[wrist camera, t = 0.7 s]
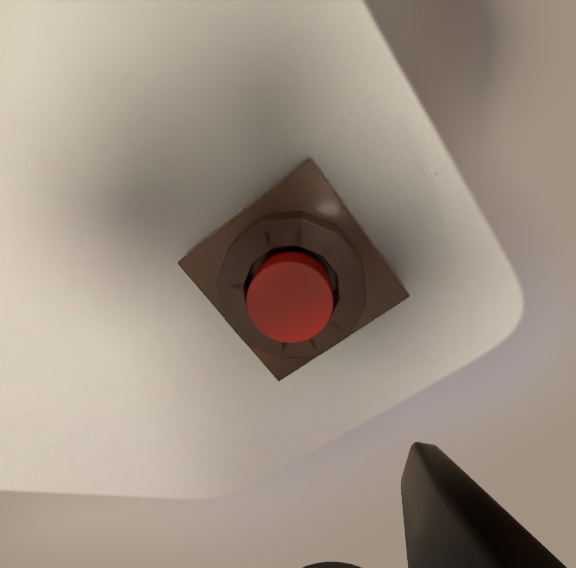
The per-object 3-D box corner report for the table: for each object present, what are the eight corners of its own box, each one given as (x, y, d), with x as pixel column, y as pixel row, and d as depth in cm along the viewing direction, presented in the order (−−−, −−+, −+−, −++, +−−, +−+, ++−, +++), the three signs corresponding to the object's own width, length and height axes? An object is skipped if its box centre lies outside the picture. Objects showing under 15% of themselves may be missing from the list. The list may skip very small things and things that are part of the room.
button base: (404, 285, 23) (418, 311, 20) (280, 366, 25) (275, 401, 22) (310, 156, 21) (309, 161, 18) (186, 254, 23) (164, 274, 20)
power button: (347, 297, 20) (350, 312, 19) (284, 340, 21) (281, 358, 20) (299, 234, 20) (297, 244, 18) (235, 281, 20) (228, 295, 19)
